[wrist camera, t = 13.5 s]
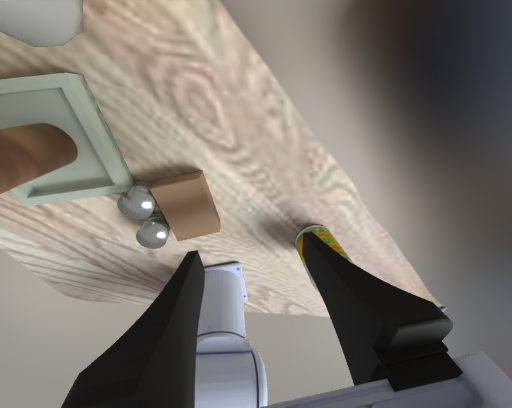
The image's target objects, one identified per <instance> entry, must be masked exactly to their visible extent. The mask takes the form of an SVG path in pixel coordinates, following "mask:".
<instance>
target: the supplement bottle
mask: <svg viewBox="0 0 512 408" xmlns="http://www.w3.org/2000/svg"><path fill="white" fill-rule="evenodd" d="M310 231H312V232H313V233H314V234H316V235H317V236H318V237H319V238H320V239H321V240H323V241H324V242H325V243H326V244H327V245H329V246H330V247H331V248H332V249H334V250H335V251H336V252H338V253H339V254H340V255H342V256H343V257H344V258H346V259H347V260H349V261H350V262H352V261H351V259H350V258H349V257H348V255H347V254H346V253H345V251H344V250H343V249H342V247H341V246H340V245H339V243H338V242H337V241H336V239H335V238H334V236H333V235H332V234H331V232H330V231H329V230H328V229H327V228H326V227H324V226H321V225H313V226H309V227H307V228H305V229H303V230H302V231H301V232H300V233H299V234H298V235H297V237H296V240H295V246H296V249H297V251H298V253H299V256H300V258H301V260H302V262H303V264H304V267H305V269H306V271H307V273H308V276H309V278H310V280H311V282H312V284H313V286H314V288H315V289H316V290H317V291H318V292H319V290H318V288H317V286H316V284H315V283H314V281H313V279H312V277H311V275H310V273H309V271H308V269H307V266H306V264H305V261H304V258H303V255H302V243H303V233H304V232H310ZM352 263H353V262H352ZM353 264H354V263H353Z"/></svg>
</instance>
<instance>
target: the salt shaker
mask: <svg viewBox="0 0 512 408" xmlns="http://www.w3.org/2000/svg"><path fill="white" fill-rule="evenodd" d="M0 32H3V33H5V34H7V35H9V36H11V37H13V38H16V39H18V40H20V41H23V42H25V43H27V44H30V45H32V46H34V47H50V46H63V45H64V44H65V43H67V42H68V41H69V40H70V39H72V38H73V37H74V36H75V35H77V34H79V33H81V32H83V0H0Z"/></svg>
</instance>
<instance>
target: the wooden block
mask: <svg viewBox="0 0 512 408" xmlns="http://www.w3.org/2000/svg"><path fill="white" fill-rule="evenodd" d="M150 191H151V193H152V195H153V196H154V198H155V200H156V202H157V204H158V205H159V207H160V209H161V211H162V213H163V215H164V216H165V218H166V220H167V222H168V224H169V226H170V227H171V229H172V231H173V233H174V235H175V236H176V238H177V240H178V241H182V240H186V239H190V238H195V237H199V236H203V235H208V234H212V233H217V232H220V219H219V216H218V213H217V210H216V207H215V205H214V202H213V199H212V196H211V193H210V190H209V188H208V185H207V182H206V179H205V176H204V174H203V171H202V170H201V171H197V172H192V173H188V174H183V175H179V176H174V177H170V178H165V179H160V180H157V181H156V182H155V183H154V184H153V185H152V187H151V188H150Z"/></svg>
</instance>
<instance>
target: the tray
mask: <svg viewBox="0 0 512 408" xmlns="http://www.w3.org/2000/svg"><path fill="white" fill-rule="evenodd" d="M37 123H46V124H51V125H54V126H56V127H58V128H60V129H62V130H63V131H64V132H66V133H67V134H68V135H69V136H70V137H71V138H72V139H73V141H74V142H75V144H76V146H77V150H78V155H77V158H76V160H75V161H74V162H72V163H70V164H68V165H66V166H63V167H61V168H59V169H57V170H54V171H52V172H50V173H47V174H45V175H43V176H40V177H38V178H36V179H34V180H31V181H29V182H27V183H24V184H22V185H20V186H17V187H15V188H13V189H11V190H9V191H10V192H11V193H12V194H13V195H14V196H15V197H16V198H17V199H18V201H19V202H20V203H21V204H22V205H23V206H24V207H25V206H32V205H39V204H46V203H53V202H60V201H67V200H73V199H80V198H87V197H94V196H101V195H108V194H115V193H122V192H126V191H127V190H128V189H129V188H130V187H131V186H132V185H134V184H135V182H134V180H133V178H132V176H131V174H130V172H129V169H128V167H127V165H126V163H125V161H124V159H123V157H122V155H121V153H120V151H119V149H118V147H117V145H116V143H115V141H114V139H113V136H112V134H111V132H110V130H109V128H108V126H107V124H106V122H105V120H104V118H103V116H102V114H101V112H100V110H99V108H98V106H97V103H96V101H95V99H94V97H93V95H92V93H91V91H90V89H89V87H88V85H87V83H86V81H85V79H84V77H83V75H79V74H72V73H58V74H48V75H38V76H29V77H19V78H9V79H0V129H3V128H10V127H16V126H23V125H30V124H37Z"/></svg>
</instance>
